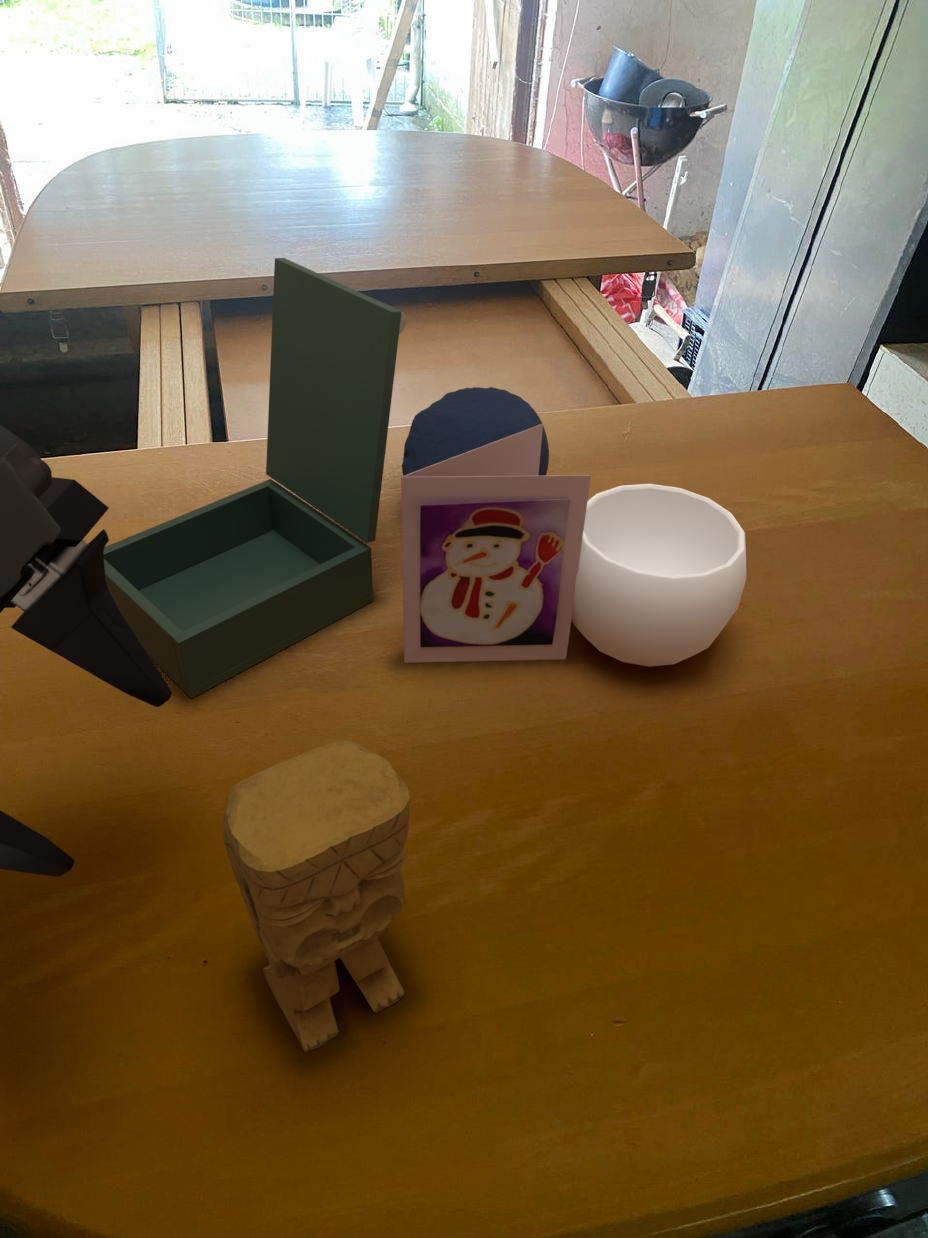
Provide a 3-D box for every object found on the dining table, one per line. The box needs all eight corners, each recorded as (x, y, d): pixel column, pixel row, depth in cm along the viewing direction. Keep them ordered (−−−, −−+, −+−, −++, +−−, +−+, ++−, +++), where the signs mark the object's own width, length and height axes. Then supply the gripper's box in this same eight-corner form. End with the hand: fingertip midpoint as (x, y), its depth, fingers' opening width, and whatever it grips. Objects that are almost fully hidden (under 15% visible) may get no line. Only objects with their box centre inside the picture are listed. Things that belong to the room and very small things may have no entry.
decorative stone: (435, 468, 85) (436, 366, 78) (559, 496, 81) (571, 392, 75) (381, 534, 76) (377, 426, 70) (517, 569, 73) (526, 458, 67)
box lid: (392, 311, 57) (443, 307, 60) (274, 257, 64) (325, 255, 67) (366, 543, 66) (412, 529, 68) (265, 474, 72) (311, 464, 75)
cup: (550, 582, 72) (562, 475, 66) (708, 589, 72) (735, 482, 66) (558, 693, 62) (572, 580, 56) (739, 701, 62) (774, 588, 56)
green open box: (191, 699, 61) (178, 642, 58) (100, 609, 68) (84, 554, 65) (373, 601, 69) (371, 547, 66) (276, 530, 76) (270, 478, 73)
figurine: (293, 1071, 43) (255, 882, 33) (239, 960, 47) (191, 763, 37) (423, 995, 46) (422, 802, 36) (361, 897, 50) (346, 700, 40)
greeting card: (404, 671, 64) (401, 484, 54) (403, 603, 69) (399, 424, 60) (567, 667, 64) (593, 483, 55) (553, 601, 70) (574, 423, 60)
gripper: (-430, 576, 21) (124, 919, 27) (5, 288, 35) (306, 554, 41) (-509, 758, 27) (-39, 1007, 33) (-108, 448, 41) (170, 661, 47)
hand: (121, 777), depth 38 cm, fingers open, 9 cm apart
